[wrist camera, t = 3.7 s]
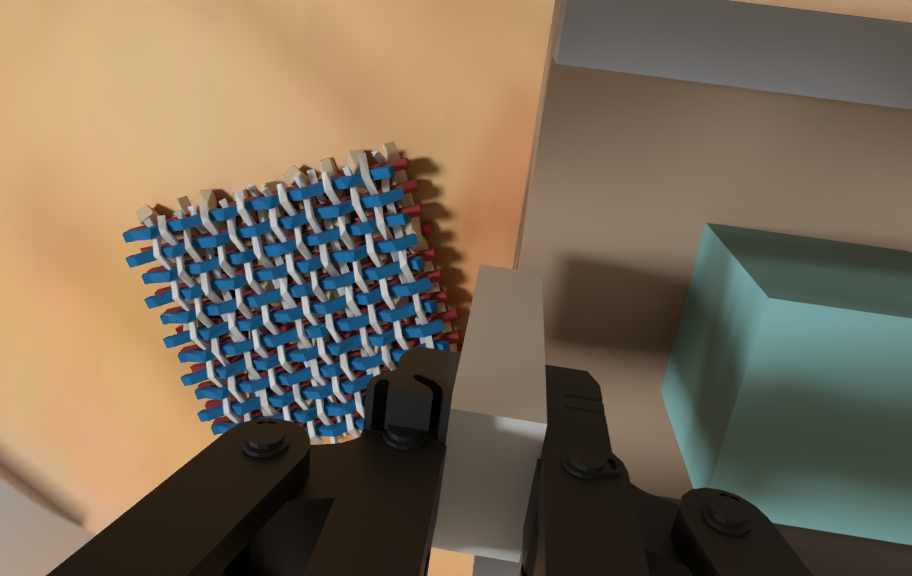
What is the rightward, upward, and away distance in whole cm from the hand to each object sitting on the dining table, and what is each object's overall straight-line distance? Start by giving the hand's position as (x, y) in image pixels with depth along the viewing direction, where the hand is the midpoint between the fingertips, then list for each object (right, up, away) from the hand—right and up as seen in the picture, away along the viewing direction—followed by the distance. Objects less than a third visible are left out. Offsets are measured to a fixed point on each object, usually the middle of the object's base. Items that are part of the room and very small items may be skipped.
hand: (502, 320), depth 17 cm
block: (+7, 0, +1) cm, 7 cm away
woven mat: (-6, 0, +9) cm, 11 cm away
